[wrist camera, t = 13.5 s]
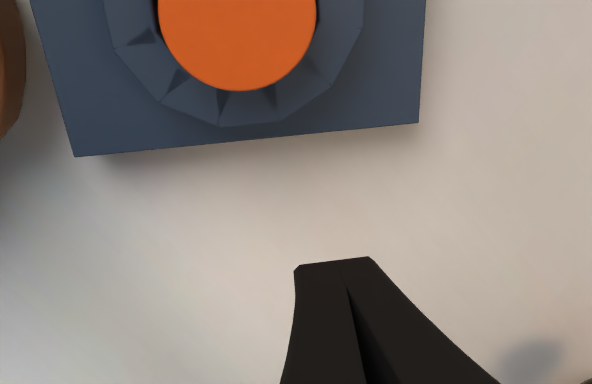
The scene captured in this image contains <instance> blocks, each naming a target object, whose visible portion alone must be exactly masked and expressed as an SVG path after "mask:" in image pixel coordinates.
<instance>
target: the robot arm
mask: <svg viewBox="0 0 592 384" xmlns="http://www.w3.org/2000/svg"><path fill="white" fill-rule="evenodd" d="M294 283H295V308H294V318H293V324H292V330H291V335H290V341H289V346H288V352H287V357H286V361H285V365H284V369H283V373H282V377H281V381H280V384H500V383H499V382H498V381H497V380H496V379H494V378H493V377H492V376H491V375H490V374H488V373H487V372H486V371H485V370H484V369H483V368H481V367H480V366H479V365H478V364H477V363H476V362H474V361H473V360H472V359H471V358H470V357H469V356H467V355H466V354H465V353H464V352H463V351H462V350H461V349H460V348H459V347H458V346H456V345H455V344H454V343H453V342H452V341H451V340H450V339H449V338H448V337H447V336H446V335H445V334H444V333H443V332H442V331H441V330H439V329H438V328H437V327H436V326H435V325H434V324H433V323H432V322H431V321H430V320H429V319H428V318H427V317H426V316H425V315H424V314H423V313H422V312H421V311H420V310H419V309H418V308H417V307H416V306H415V305H414V304H413V303H412V302H411V301H410V300H409V299H408V298H407V297H406V296H405V294H404V293H403V292H402V291H401V290H400V289H399V288H398V287H397V286H396V285H395V284H394V283H393V282H392V280H391V279H390V278H389V277H388V276H387V275H386V274H385V273H384V272H383V270H382V269H381V268H380V267H379V266H378V265H377V264H376V262H375V261H374V260H372V259H371V258H370V257H369V256H367V257H359V258H351V259H343V260H335V261H327V262H319V263H311V264H303V265H299V266H298V267H297V268H296V269H295V270H294Z"/></svg>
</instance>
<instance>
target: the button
mask: <svg viewBox="0 0 592 384" xmlns="http://www.w3.org/2000/svg"><path fill="white" fill-rule="evenodd" d="M158 17H159V24H160V28H161V32H162V35H163V38H164V40H165V43H166V45H167V47H168V49H169V50H170V52H171V54H172V55H173V57H174V58H175V59H176V61H177V62H178V63H179V64H180V65H181V66H182V67H183V68H184V69H185V70H186V71H187V72H188V73H189V74H191V75H192V76H193V77H195V78H196V79H198V80H199V81H201V82H203V83H205V84H207V85H210V86H213V87H215V88H219V89H223V90H228V91H250V90H256V89H259V88H263V87H266V86H268V85H270V84H273V83H275V82H276V81H278V80H280V79H282V78H283V77H284V76H286V75H287V74H288V73H289V72H290V71H291V70H292V69H293V68H294V67H295V66H296V65H297V64H298V63H299V62H300V60H301V59H302V58H303V56H304V54H305V53H306V51H307V49H308V47H309V45H310V42H311V40H312V37H313V33H314V29H315V23H316V2H315V0H158Z"/></svg>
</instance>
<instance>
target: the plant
mask: <svg viewBox="0 0 592 384" xmlns="http://www.w3.org/2000/svg"><path fill="white" fill-rule="evenodd" d="M25 81H26V50H25V39H24V32H23V26H22V22H21V19H20V16H19V12H18V9H17V7H16V5H15V2H14V0H0V140H1V139H2V138H3V137H4V136H5V135H6V133H7V132H8V131H9V130H10V128H11V127H12V126H13V124H14V123H15V122H16V120H17V119H18V116H19V113H20V109H21V106H22V100H23V94H24V87H25Z"/></svg>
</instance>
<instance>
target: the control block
mask: <svg viewBox="0 0 592 384" xmlns="http://www.w3.org/2000/svg"><path fill="white" fill-rule="evenodd" d="M315 2H316V23H315V29H314V33H313V37H312V40H311V42H310V45H309V47H308V49H307V51H306V53H305V54H304V56H303V58H302V59H301V60H300V62H299V63H298V64H297V65H296V66H295V67H294V68H293V69H292V70H291V71H290V72H289V73H288V74H287V75H286V76H284V77H283V78H282V79H280V80H278V81H276V82H275V83H273V84H270V85H268V86H266V87H263V88H259V89H256V90H250V91H228V90H223V89H219V88H215V87H213V86H210V85H207V84H205V83H203V82H201V81H199V80H198V79H196V78H195V77H193V76H192V75H191V74H189V73H188V72H187V71H186V70H185V69H184V68H183V67H182V66H181V65H180V64H179V63H178V62H177V61H176V59H175V58H174V57H173V55H172V54H171V52H170V50H169V49H168V47H167V45H166V43H165V40H164V38H163V35H162V32H161V28H160V24H159V17H158V0H30V4H31V7H32V11H33V14H34V18H35V21H36V25H37V28H38V32H39V35H40V39H41V42H42V46H43V49H44V53H45V56H46V60H47V63H48V67H49V71H50V74H51V78H52V81H53V85H54V88H55V92H56V95H57V99H58V102H59V106H60V109H61V113H62V116H63V120H64V123H65V127H66V130H67V134H68V137H69V141H70V144H71V148H72V151H73V155H74V157H84V156H94V155H104V154H114V153H124V152H134V151H144V150H154V149H164V148H174V147H184V146H194V145H204V144H214V143H224V142H234V141H244V140H254V139H264V138H274V137H283V136H293V135H303V134H313V133H323V132H333V131H343V130H353V129H363V128H373V127H383V126H393V125H403V124H413V123H418V122H419V105H420V89H421V72H422V56H423V39H424V23H425V7H426V0H315Z"/></svg>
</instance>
